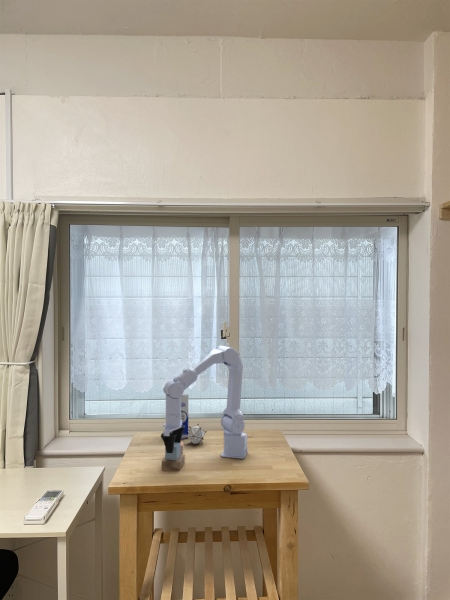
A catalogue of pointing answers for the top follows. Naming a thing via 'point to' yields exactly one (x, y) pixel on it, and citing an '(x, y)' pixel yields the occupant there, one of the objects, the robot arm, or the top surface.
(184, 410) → the milk carton
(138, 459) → the top surface
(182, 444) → the terracotta block
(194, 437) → the game die
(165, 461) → the walnut base
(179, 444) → the slate block
